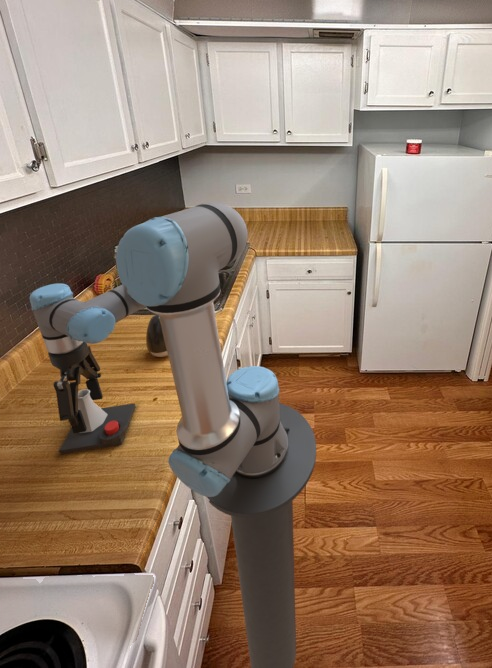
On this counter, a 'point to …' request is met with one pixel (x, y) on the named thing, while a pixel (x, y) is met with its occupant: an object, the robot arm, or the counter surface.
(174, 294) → the robot arm
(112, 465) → the counter surface
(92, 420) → the flask
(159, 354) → the dark grey egg shape
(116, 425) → the button
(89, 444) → the scale
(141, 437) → the counter surface
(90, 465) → the counter surface
